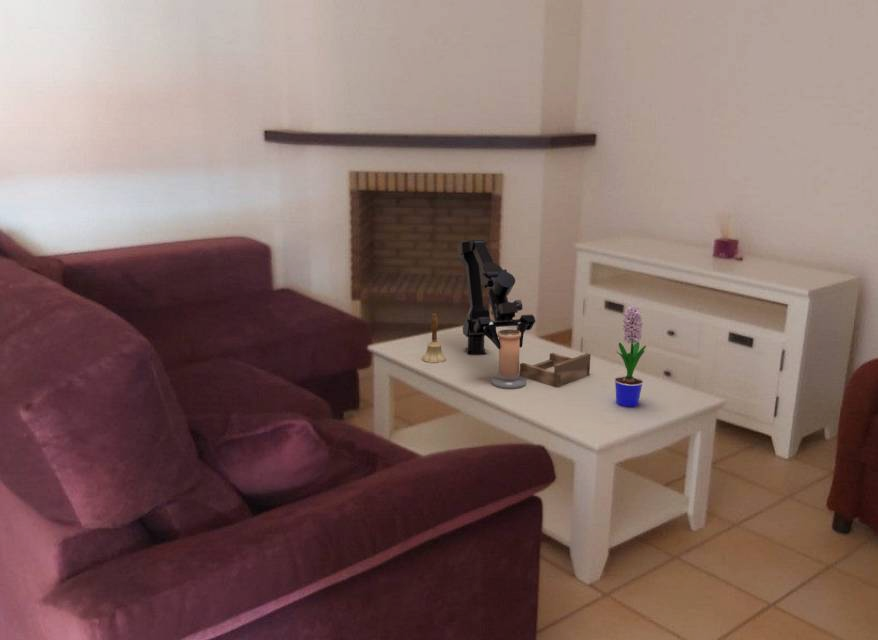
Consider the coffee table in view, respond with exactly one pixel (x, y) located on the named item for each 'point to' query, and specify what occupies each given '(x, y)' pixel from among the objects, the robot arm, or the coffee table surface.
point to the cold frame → (558, 369)
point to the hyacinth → (630, 360)
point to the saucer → (508, 381)
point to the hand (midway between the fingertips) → (510, 347)
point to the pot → (509, 352)
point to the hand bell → (434, 345)
